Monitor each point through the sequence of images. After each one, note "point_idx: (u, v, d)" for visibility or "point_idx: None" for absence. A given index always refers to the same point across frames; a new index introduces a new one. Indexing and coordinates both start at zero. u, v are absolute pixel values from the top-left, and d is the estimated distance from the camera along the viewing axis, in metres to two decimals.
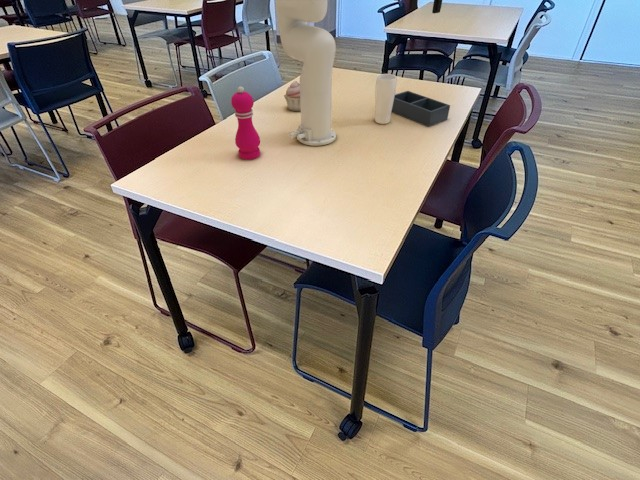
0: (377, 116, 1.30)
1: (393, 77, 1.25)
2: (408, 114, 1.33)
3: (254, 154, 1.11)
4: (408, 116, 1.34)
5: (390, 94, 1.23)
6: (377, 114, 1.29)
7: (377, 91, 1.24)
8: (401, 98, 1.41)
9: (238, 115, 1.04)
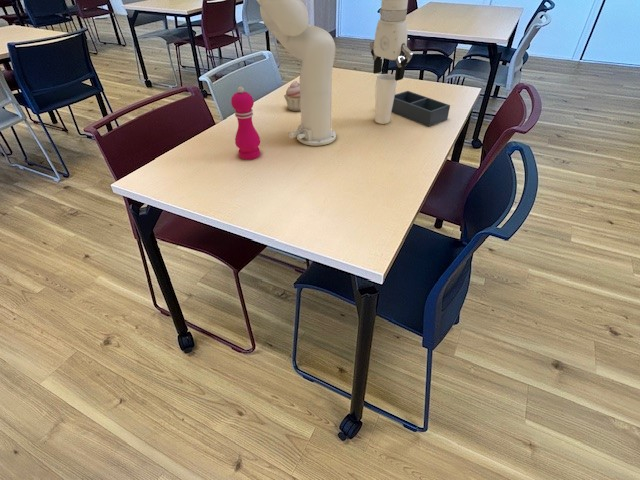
0: (377, 116, 1.30)
1: (393, 77, 1.25)
2: (408, 114, 1.33)
3: (254, 154, 1.11)
4: (408, 116, 1.34)
5: (390, 94, 1.23)
6: (377, 114, 1.29)
7: (377, 91, 1.24)
8: (401, 98, 1.41)
9: (238, 115, 1.04)
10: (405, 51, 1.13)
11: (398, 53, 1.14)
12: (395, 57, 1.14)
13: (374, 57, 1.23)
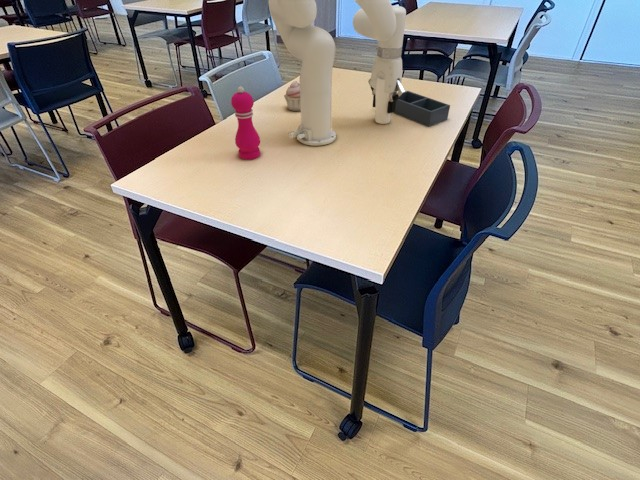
0: (377, 116, 1.30)
1: None
2: (408, 114, 1.33)
3: (254, 154, 1.11)
4: (408, 116, 1.34)
5: None
6: (377, 114, 1.29)
7: (377, 91, 1.24)
8: (401, 98, 1.41)
9: (238, 115, 1.04)
10: (398, 88, 1.20)
11: (393, 87, 1.20)
12: (391, 91, 1.21)
13: (373, 92, 1.28)
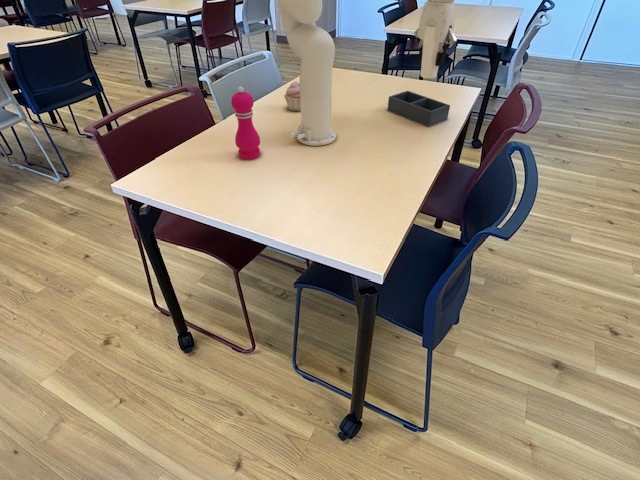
0: (424, 70, 1.22)
1: None
2: (408, 114, 1.33)
3: (254, 154, 1.11)
4: (408, 116, 1.34)
5: None
6: (424, 68, 1.21)
7: (426, 41, 1.17)
8: (401, 98, 1.41)
9: (238, 115, 1.04)
10: (450, 36, 1.13)
11: (445, 35, 1.12)
12: (442, 39, 1.13)
13: (420, 44, 1.21)
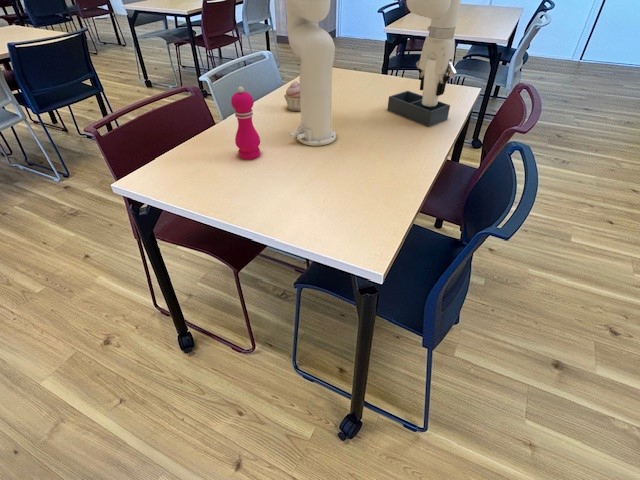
0: (425, 99, 1.28)
1: None
2: (408, 114, 1.33)
3: (254, 154, 1.11)
4: (408, 116, 1.34)
5: None
6: (425, 97, 1.28)
7: (427, 73, 1.23)
8: (401, 98, 1.41)
9: (238, 115, 1.04)
10: (450, 69, 1.19)
11: (445, 68, 1.19)
12: (442, 72, 1.19)
13: (421, 75, 1.27)
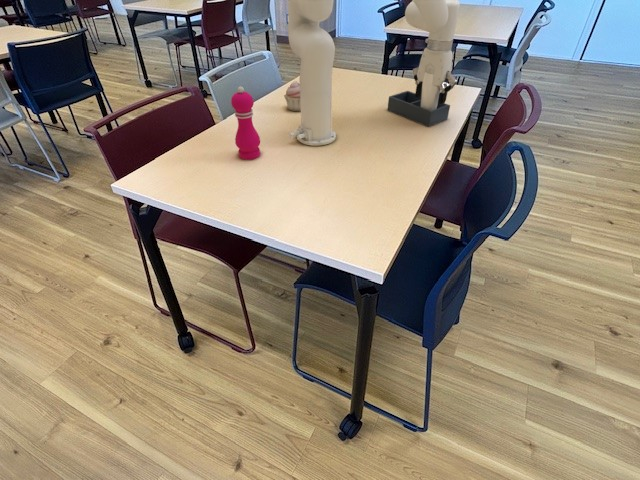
0: None
1: None
2: (408, 114, 1.33)
3: (254, 154, 1.11)
4: (408, 116, 1.34)
5: (438, 89, 1.25)
6: None
7: (425, 86, 1.25)
8: (401, 98, 1.41)
9: (238, 115, 1.04)
10: (450, 78, 1.20)
11: (443, 80, 1.21)
12: (440, 83, 1.21)
13: (417, 82, 1.29)
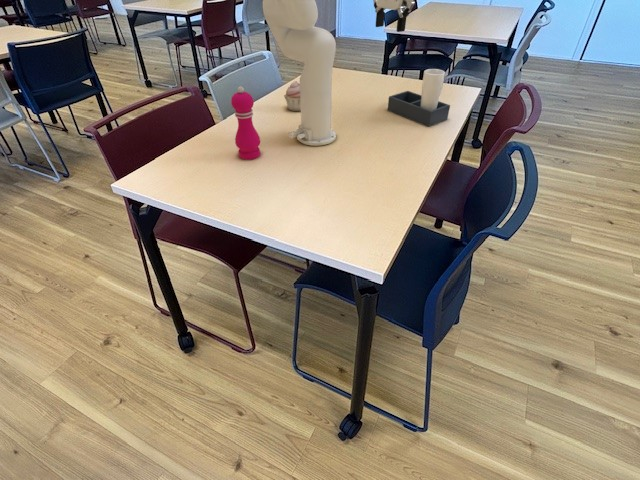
0: None
1: (440, 72, 1.26)
2: (408, 114, 1.33)
3: (254, 154, 1.11)
4: (408, 116, 1.34)
5: (438, 89, 1.25)
6: None
7: (425, 86, 1.25)
8: (401, 98, 1.41)
9: (238, 115, 1.04)
10: (407, 0, 1.14)
11: (400, 2, 1.15)
12: (397, 6, 1.15)
13: (377, 9, 1.23)
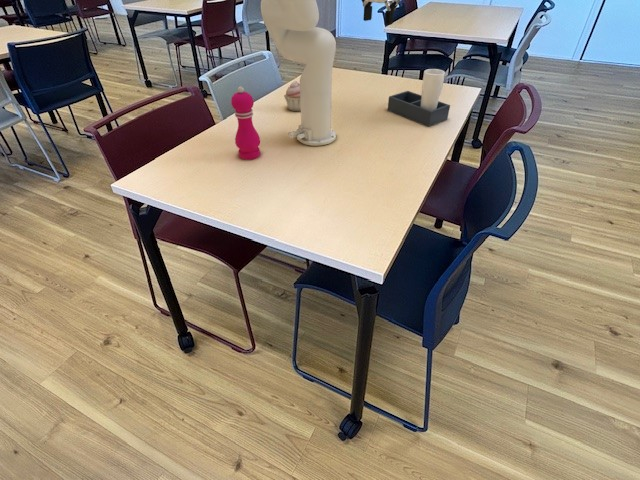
0: None
1: (440, 72, 1.26)
2: (408, 114, 1.33)
3: (254, 154, 1.11)
4: (408, 116, 1.34)
5: (438, 89, 1.25)
6: None
7: (425, 86, 1.25)
8: (401, 98, 1.41)
9: (238, 115, 1.04)
10: None
11: None
12: None
13: (364, 3, 1.24)
